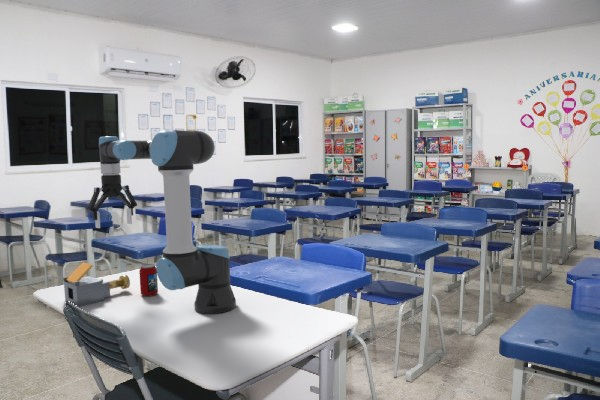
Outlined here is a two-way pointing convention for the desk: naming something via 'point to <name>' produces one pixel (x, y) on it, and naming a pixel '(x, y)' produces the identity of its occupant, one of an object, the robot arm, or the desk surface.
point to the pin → (120, 282)
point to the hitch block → (86, 290)
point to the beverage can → (148, 280)
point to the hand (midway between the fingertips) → (114, 225)
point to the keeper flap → (79, 272)
